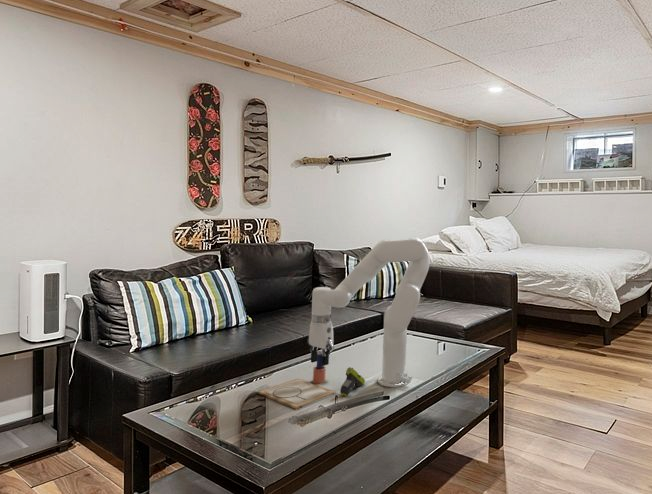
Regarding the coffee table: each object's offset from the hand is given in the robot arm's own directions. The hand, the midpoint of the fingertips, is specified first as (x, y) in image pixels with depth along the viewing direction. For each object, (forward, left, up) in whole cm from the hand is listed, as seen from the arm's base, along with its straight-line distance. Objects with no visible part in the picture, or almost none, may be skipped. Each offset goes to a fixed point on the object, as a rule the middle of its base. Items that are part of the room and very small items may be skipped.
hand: (319, 362), depth 197 cm
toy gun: (-17, -2, -8) cm, 19 cm away
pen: (0, 0, -7) cm, 7 cm away
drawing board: (-3, +13, -8) cm, 16 cm away
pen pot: (0, 0, -8) cm, 8 cm away
